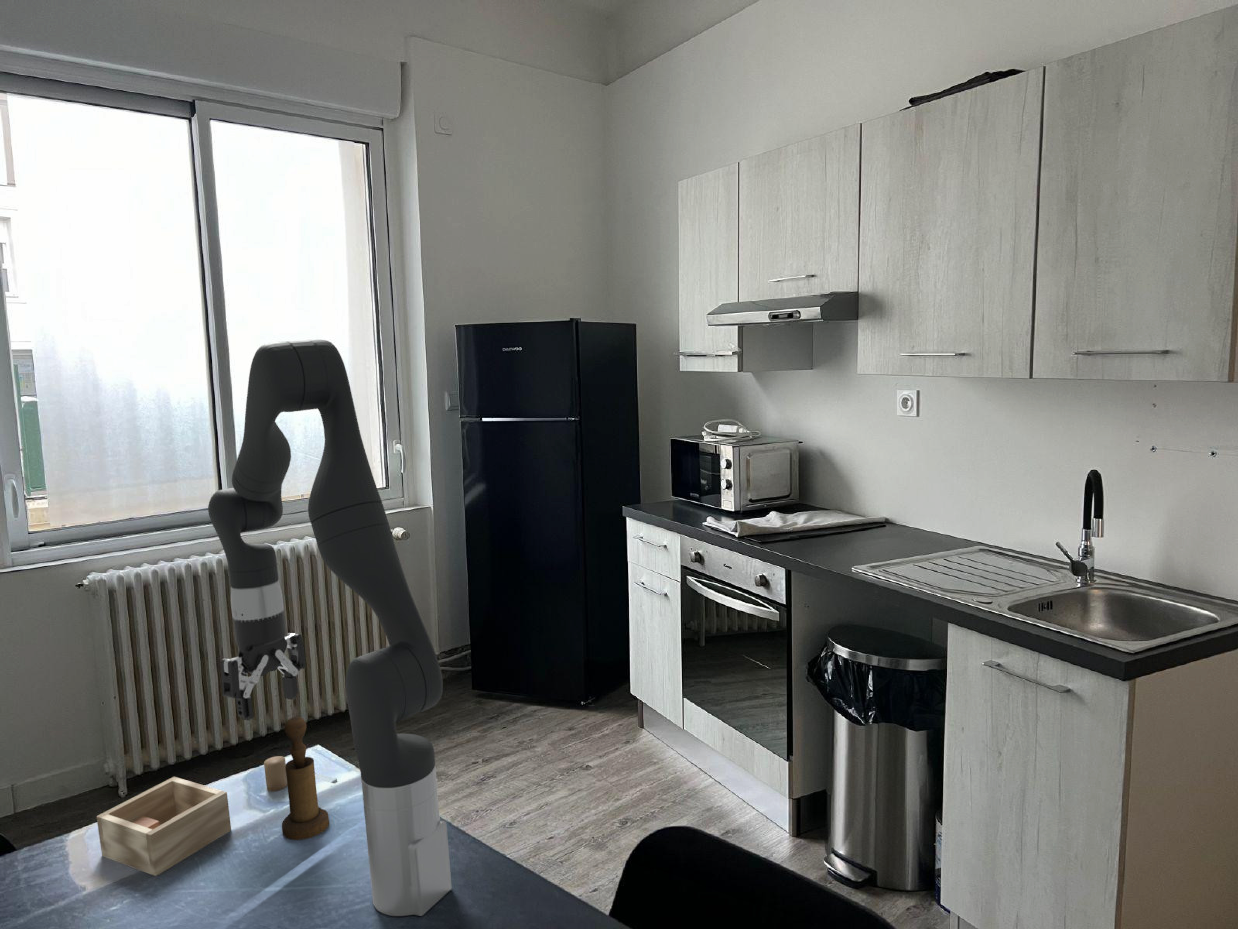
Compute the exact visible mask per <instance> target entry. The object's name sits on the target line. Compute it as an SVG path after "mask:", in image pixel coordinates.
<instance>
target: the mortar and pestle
mask: <svg viewBox="0 0 1238 929" xmlns="http://www.w3.org/2000/svg"><path fill="white" fill-rule="evenodd" d="M283 730H284V733H285V735H286V736H287V738H288V739H289V740H290V741H291V747H290V748H289V753H290V755H291V758H292V759H290V760H289V761H287V762H286V765H285V769H286V777H287V794H288V804H289V814H288V815H287V816H285V818H284V819H283V821H282V822H281V832H282V836H283V837H284V838H286V839H288V840H291V841H301V840H302V841H303V840H308V839H310V838H313V837H316V836H318V835H320V834H322V833H323V832H325V831H326V830H327V829H328V827H329V825H330V815H329V813H328V811H326V810H325V809H323V808H322V807H320V806H319V801H318V793H317V782H316V781H317V779H315V773H316V771H315V761H314V760H315V759H314V758H313V757H311V756H306V753H307V745H306V744H304V743H303V738H304V736H305V733H306V731H307V721H305V719H304V718H302V717H301V716H293V717H290V718H289V719H287V721H286V722H285V723H284V728H283Z"/></svg>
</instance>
